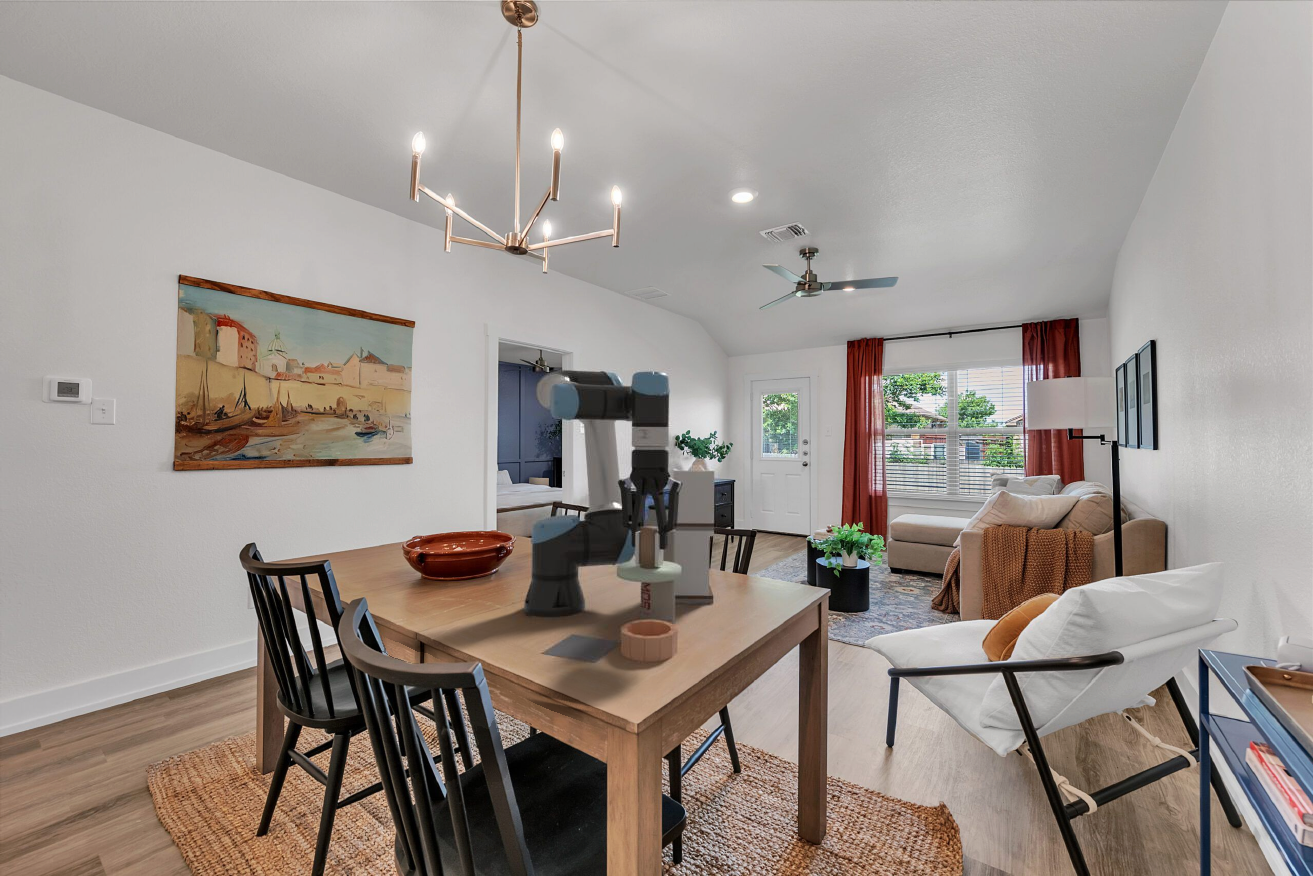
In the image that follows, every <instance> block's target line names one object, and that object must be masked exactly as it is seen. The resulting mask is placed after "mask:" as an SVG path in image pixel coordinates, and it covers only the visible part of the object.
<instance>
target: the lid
mask: <svg viewBox="0 0 1313 876" xmlns="http://www.w3.org/2000/svg"><path fill="white" fill-rule="evenodd" d="M657 532H658V527H656V526H644V525H643V526H641V529H640V565H635V560H630V561H629V562H625V563H622V564H617V566H616V576H617V577H618V578H619V579H622V580H624V581H627V582H628V581H629V582H636V583H641V582H665V581H671V580H675V579H677V578H679V577H681V566H680V565H678V564H676V563H672V562H667V561H663V565H661V566H659V567H655V534H656V533H657Z"/></svg>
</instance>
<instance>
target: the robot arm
mask: <svg viewBox="0 0 1313 876" xmlns="http://www.w3.org/2000/svg"><path fill="white" fill-rule="evenodd" d="M669 381H670V380H669V376H668V374H667V373H665V372H662V371H638V372H635V373H633V375H632V378H631V383H630V384H631V385H624V384H623V380H622V379H621V377H620V376H619V375H618V374H617V373H615V372H607V371H604V370H603V371H602V370H601V371H588V370H587V371H586V370H569V369H568V370H567V369H563V370H556V371H553V372H550V373H547V374H545V375H543V376H541V378H539V380H538V381H537V383H536V386H535V397H536V398H535V399H537V401H538V403H539V404H540V405H541V406H542V407H543V408H545V409H547V410H550V415H551V417H552V418H553V419H557V420H566V421H571V420H572V421H574V420H576V421H577V420H578V421H579V422H580V423H582V424H583V428H584V429H583V430H584V445H585V458H586V459H585V460H586V461H585V462H586V476H587V477H586V478H587V491H588V506H589V507H588V509H587V511H586V512H585V513H584V515H583V516H584V517H583V518H584V519H583V520H580V518H579V516H578V515H576V514H568V515H565V514H562V515H556V516H554V515H553V516H549V517H545V518H542V519H540V520H538V521H536V522H535V523H533V525H532V530H531V531H532V532H531V540H530V542H531V580H530V583H529V587H528V589H527V593H526V596H525V599H524V601H523V602H524V603H523V612H524V614H525V615H527V616H528V617H532V616H533V617H540V618H561V617H569V616H573V615H576V614H579V613H581V612H584V611H585V610H586V600H585V596H584V592H583V590H582V586H581V583H580V580H579V568H581V567H582V568H583V567H584V568H585V567H596V566H597V567H598V566H611V565H612V566H616V565H619V564H622V563H625V562H630V561H632V559H633V558H634V556H635V558H634V561H635V565H640V529H641V527H642V523H643V518H644V517H643V516H644V511H645V505H646V500H647V498H648V495H651V499H652V500H653V505H655V512H656V518H657V524H658V530H659V531H658V532H657V533H656V534H655V567H659V566H661V565H663V550H664V549H667V546H668V532H669V531H672V530H675V529H676V528H677V518H678V502H679V492H680V489H681V487H682V482H681V481H676V480H674V479H673V477H671V475H670V472H669V466H670V465H669V463H670V462H669V456H670V455H669V454H670V453H669V450H668V449H667V448H668V447H669V445H670V444H669V443H670V440H669V439H670V438H669V437H670V435H669V434H670V433H669V429H670V428H669V427H670V426H669V420H670V417H669V416H670V391H671V390H670V382H669ZM616 421H624V422H631V446H632V447H633V448H634V449H632V451H631V459H630V460H631V472H630V474H629V476H628V477H626V478H624V479H620V470H619V469H620V468H619V456H618V449H617V448H618V447H617V436H616V424H615V423H616ZM667 485H668V490H669V494H668V504H667V505H668V521H667V516H666V510H665V505H666V504H665V493H664V489H665V488H666V486H667ZM633 486H634V488H635V495H634V497H635V500H634V501H635V502H634V506H633V499H632V497H633V496H632V489H631V488H632V487H633ZM633 507H634V508H633Z"/></svg>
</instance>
